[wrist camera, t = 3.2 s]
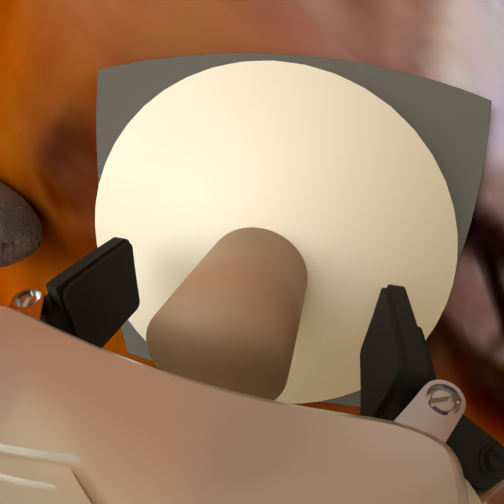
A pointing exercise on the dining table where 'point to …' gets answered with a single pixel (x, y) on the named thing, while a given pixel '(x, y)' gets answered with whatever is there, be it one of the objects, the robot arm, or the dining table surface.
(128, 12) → the dining table surface
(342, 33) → the dining table surface
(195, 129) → the lid
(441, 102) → the mat
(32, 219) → the perforated stone tool
